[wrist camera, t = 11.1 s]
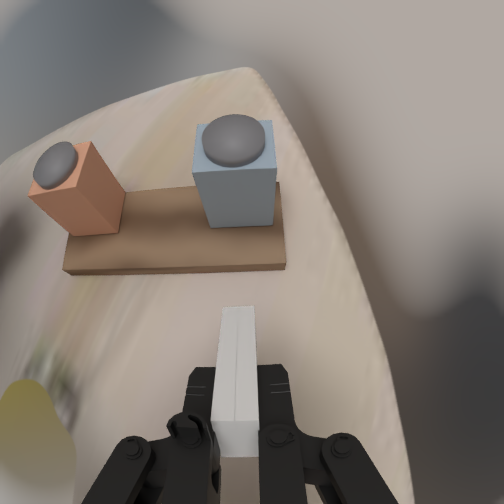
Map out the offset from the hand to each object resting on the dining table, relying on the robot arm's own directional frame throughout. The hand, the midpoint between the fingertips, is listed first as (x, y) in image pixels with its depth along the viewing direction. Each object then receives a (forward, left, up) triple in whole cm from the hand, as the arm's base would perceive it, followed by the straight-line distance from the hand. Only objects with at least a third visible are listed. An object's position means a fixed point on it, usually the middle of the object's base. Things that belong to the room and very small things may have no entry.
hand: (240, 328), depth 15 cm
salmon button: (-21, +2, -11) cm, 24 cm away
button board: (-14, +5, -13) cm, 20 cm away
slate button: (-8, +11, -11) cm, 17 cm away
